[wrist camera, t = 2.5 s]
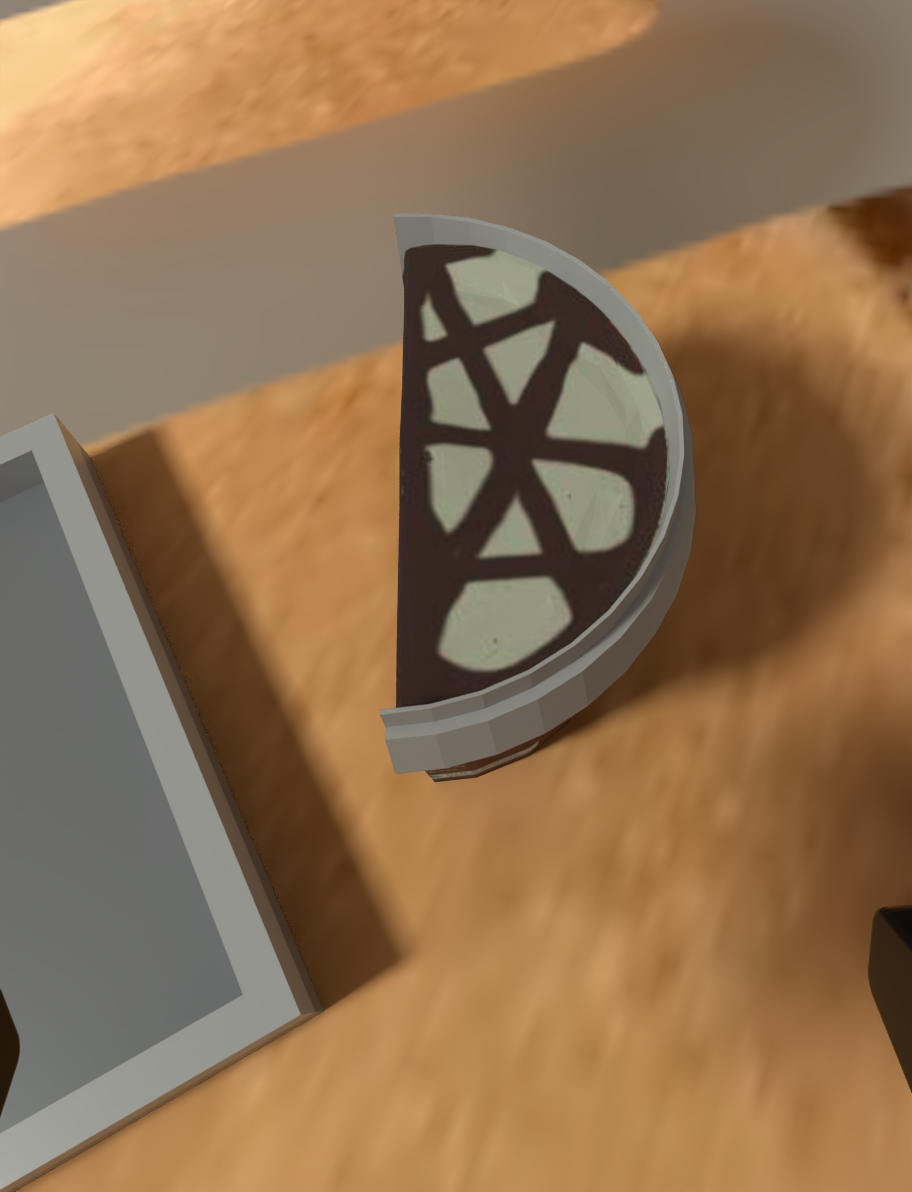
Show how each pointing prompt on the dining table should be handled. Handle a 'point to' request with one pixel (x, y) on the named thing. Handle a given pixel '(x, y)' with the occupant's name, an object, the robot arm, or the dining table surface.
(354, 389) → the dining table surface
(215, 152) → the dining table surface
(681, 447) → the food container
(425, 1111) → the dining table surface
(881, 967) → the robot arm
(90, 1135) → the dock
